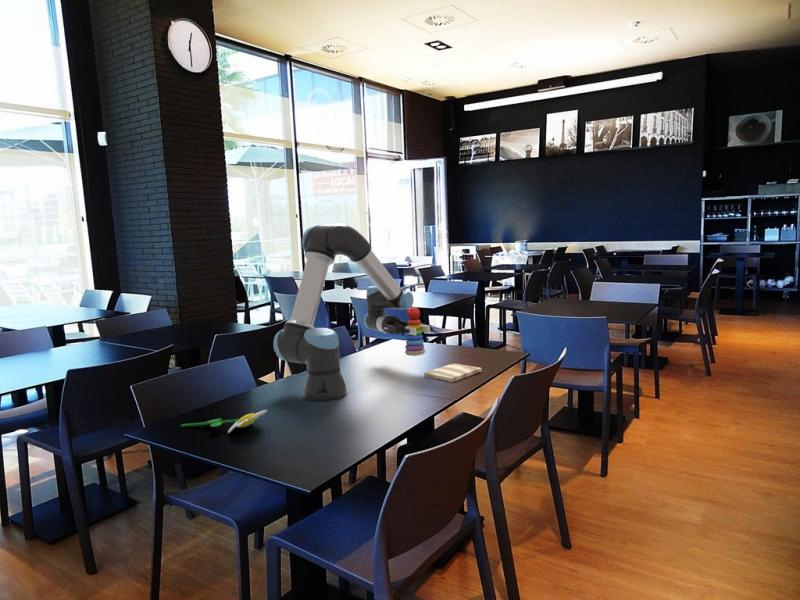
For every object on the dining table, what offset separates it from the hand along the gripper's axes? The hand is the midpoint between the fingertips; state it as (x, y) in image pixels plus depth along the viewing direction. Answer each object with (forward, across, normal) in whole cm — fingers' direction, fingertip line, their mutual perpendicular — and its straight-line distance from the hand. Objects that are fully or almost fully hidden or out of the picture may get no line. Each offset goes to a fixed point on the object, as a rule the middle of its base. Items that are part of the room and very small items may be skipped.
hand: (422, 330), depth 214 cm
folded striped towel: (+6, -9, -18) cm, 21 cm away
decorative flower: (+4, +80, -19) cm, 83 cm away
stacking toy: (-5, 0, -10) cm, 11 cm away
